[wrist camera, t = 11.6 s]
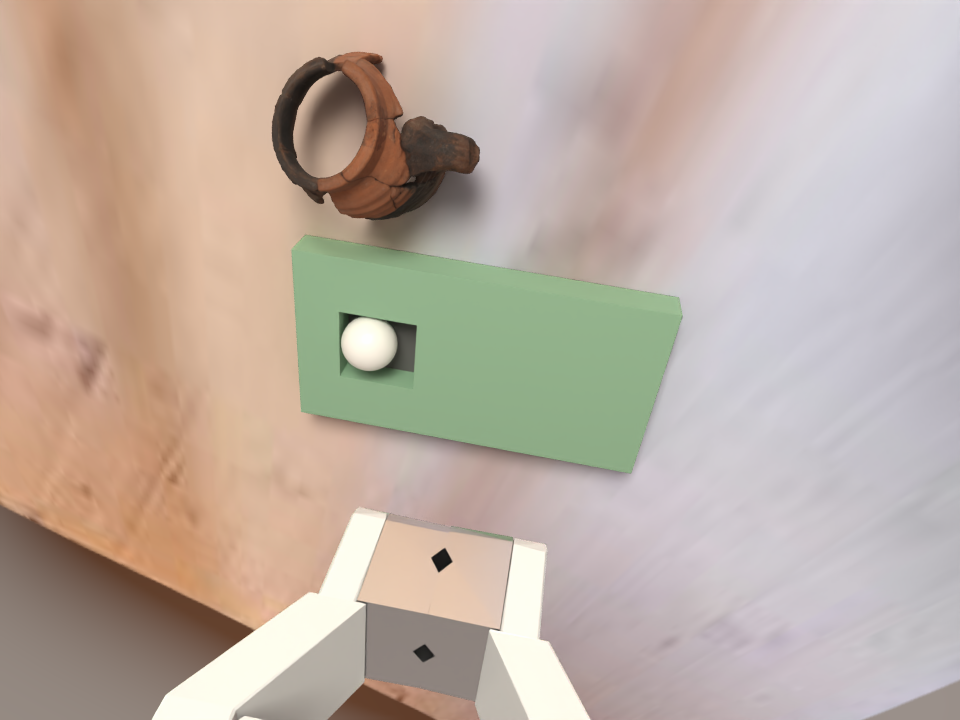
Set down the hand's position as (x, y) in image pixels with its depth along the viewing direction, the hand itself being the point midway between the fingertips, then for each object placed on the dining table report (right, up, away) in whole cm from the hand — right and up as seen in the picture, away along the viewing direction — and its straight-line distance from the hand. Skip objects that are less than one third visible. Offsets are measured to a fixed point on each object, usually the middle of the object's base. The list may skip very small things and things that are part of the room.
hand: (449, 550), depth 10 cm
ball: (-7, +4, +37) cm, 38 cm away
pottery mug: (-5, +17, +31) cm, 36 cm away
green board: (0, +4, +39) cm, 39 cm away
